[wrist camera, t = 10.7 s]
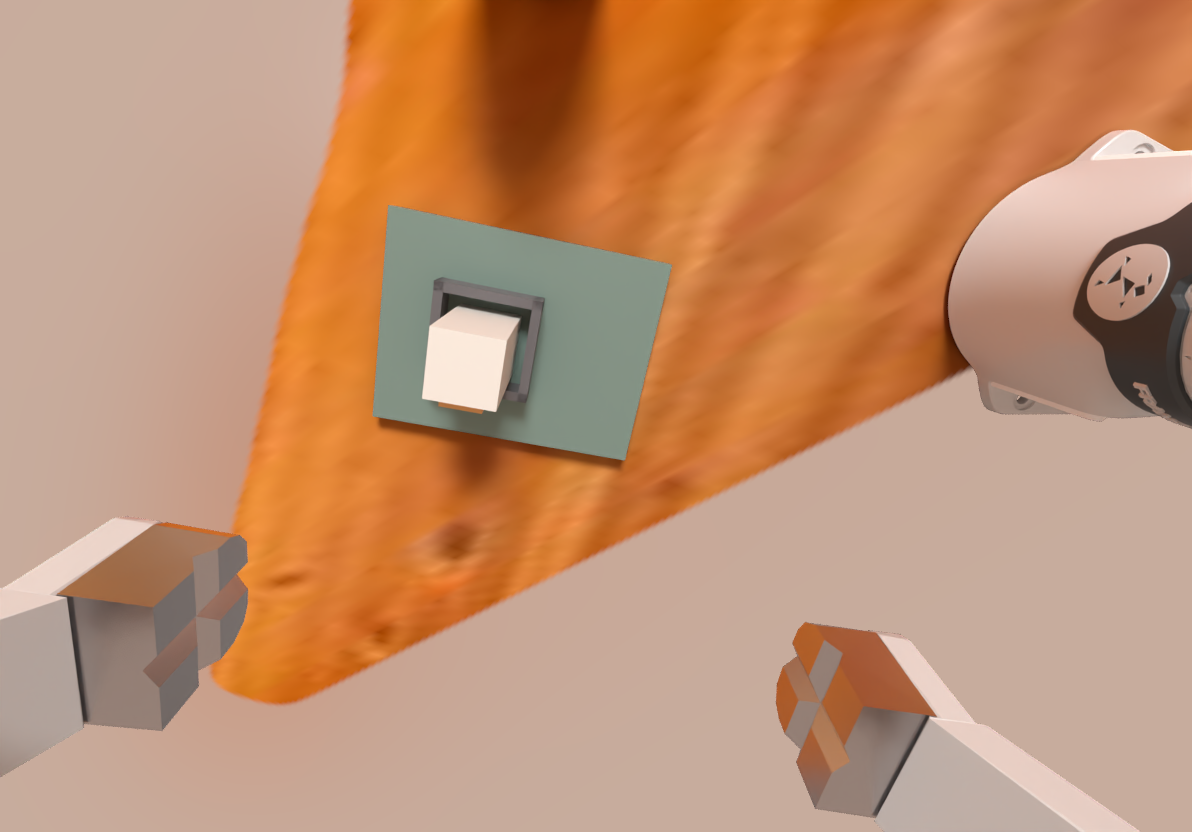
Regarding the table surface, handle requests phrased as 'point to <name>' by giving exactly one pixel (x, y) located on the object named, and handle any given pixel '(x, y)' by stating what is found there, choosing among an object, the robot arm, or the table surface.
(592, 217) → the table surface
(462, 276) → the board
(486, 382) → the plug
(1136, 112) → the table surface
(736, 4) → the table surface
